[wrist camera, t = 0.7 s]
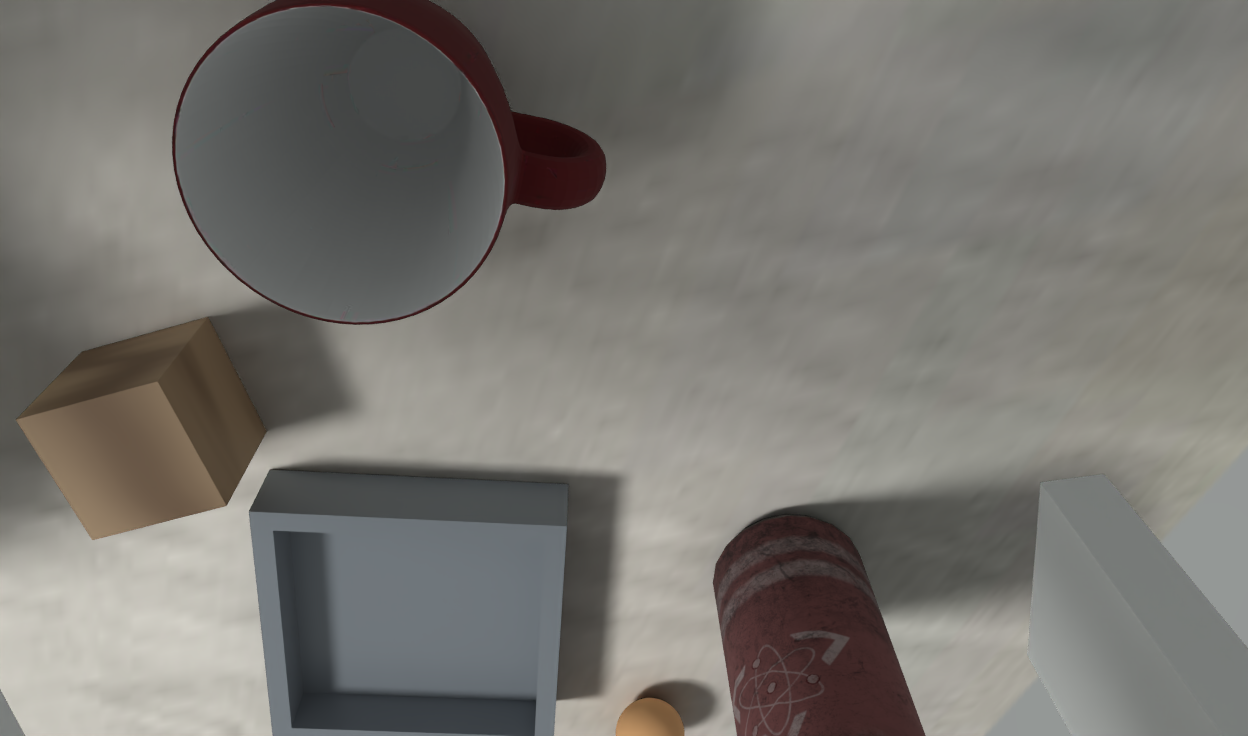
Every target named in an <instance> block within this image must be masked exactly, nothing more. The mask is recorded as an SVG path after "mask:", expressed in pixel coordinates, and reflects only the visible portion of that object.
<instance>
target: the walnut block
mask: <svg viewBox="0 0 1248 736" xmlns="http://www.w3.org/2000/svg"><path fill="white" fill-rule="evenodd" d="M16 421H17V423H18V424H19V426H20V428H21V429H22V431H23V432H24V434H25V435H26V437H27V438H28V440H29V442H30V443H31V445H32V446H33V448H34V449H35V451H36V453H37V454H38V456H39V457H40V459H41V460H42V462H43V463H44V465H45V467H46V468H47V470H48V471H49V473H50V474H51V476H52V478H53V479H54V481H55V482H56V484H57V485H58V487H59V489H60V490H61V492H62V493H63V495H64V496H65V498H66V499H67V501H68V503H69V504H70V506H71V507H72V509H73V510H74V512H75V514H76V515H77V517H78V518H79V520H80V521H81V523H82V525H83V526H84V528H85V529H86V531H87V532H88V534H89V535H90V537H91V539H92V540H95V539H99V538H103V537H107V536H111V535H115V534H119V533H123V532H126V531H130V530H134V529H138V528H142V527H146V526H150V525H154V524H158V523H162V522H166V521H169V520H173V519H177V518H181V517H185V516H189V515H193V514H197V513H201V512H205V511H208V510H212V509H216V508H220V507H224V506H227V504H228V502H229V500H230V498H231V497H232V495H233V493H234V491H235V489H236V487H237V486H238V484H239V482H240V480H241V478H242V476H243V474H244V473H245V471H246V469H247V467H248V465H249V463H250V461H251V460H252V458H253V456H254V454H255V452H256V450H257V448H258V447H259V445H260V443H261V441H262V439H263V437H264V435H265V434H266V432H267V431H266V429H265V427H264V425H263V423H262V421H261V419H260V417H259V415H258V413H257V411H256V409H255V407H254V406H253V404H252V402H251V400H250V398H249V396H248V394H247V392H246V390H245V388H244V386H243V384H242V382H241V380H240V378H239V376H238V374H237V372H236V370H235V369H234V367H233V365H232V363H231V361H230V359H229V357H228V355H227V353H226V351H225V349H224V347H223V345H222V343H221V341H220V339H219V337H218V335H217V333H216V332H215V330H214V328H213V326H212V324H211V322H210V320H209V318H208V317H206V318H202V319H198V320H195V321H191V322H188V323H184V324H180V325H177V326H173V327H170V328H166V329H162V330H159V331H155V332H152V333H148V334H144V335H141V336H137V337H134V338H130V339H126V340H123V341H119V342H116V343H112V344H108V345H105V346H101V347H98V348H94V349H90V350H87V351H83V352H81V353H80V354H79V355H78V356H77V357H76V358H75V359H74V360H73V361H72V362H71V363H70V364H69V365H68V366H67V367H66V368H65V369H64V371H63V372H62V373H61V374H60V375H59V376H58V377H57V378H56V379H55V380H54V381H53V382H52V383H51V384H50V385H49V386H48V387H47V388H46V389H45V390H44V391H43V392H42V393H41V394H40V395H39V396H38V397H37V398H36V399H35V400H34V401H33V402H32V404H31V405H30V406H29V407H28V408H27V409H26V410H25V411H24V412H23V413H22V414H21V415H20V416H19V417H18V418H17V419H16Z"/></svg>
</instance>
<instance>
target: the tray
mask: <svg viewBox="0 0 1248 736" xmlns="http://www.w3.org/2000/svg"><path fill="white" fill-rule="evenodd" d="M567 511H568V484H554V483H533V482H513V481H492V480H472V479H451V478H431V477H410V476H390V475H369V474H349V473H328V472H308V471H287V470H269V472H268V474H267V476H266V478H265V480H264V482H263V484H262V486H261V488H260V490H259V492H258V494H257V496H256V498H255V500H254V502H253V504H252V506H251V508H250V510H249V518H250V527H251V536H252V546H253V555H254V565H255V574H256V583H257V593H258V602H259V611H260V621H261V630H262V640H263V649H264V658H265V668H266V677H267V687H268V696H269V705H270V715H271V724H272V733H273V736H554V725H555V709H556V693H557V677H558V661H559V645H560V629H561V613H562V597H563V581H564V565H565V549H566V533H567Z"/></svg>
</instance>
